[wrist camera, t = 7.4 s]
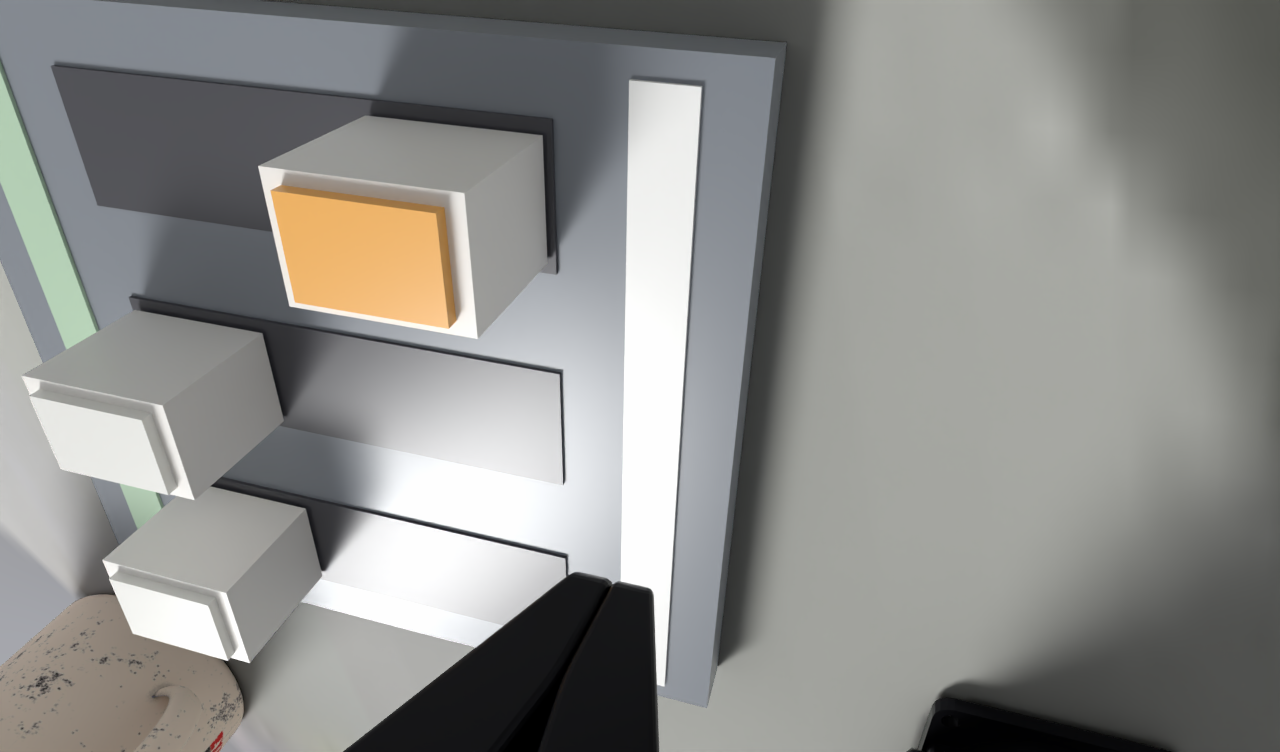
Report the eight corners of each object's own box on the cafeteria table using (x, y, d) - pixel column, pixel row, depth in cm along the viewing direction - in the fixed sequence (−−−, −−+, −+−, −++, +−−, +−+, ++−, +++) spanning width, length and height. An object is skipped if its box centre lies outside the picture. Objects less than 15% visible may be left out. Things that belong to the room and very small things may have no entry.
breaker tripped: (542, 135, 17) (456, 198, 14) (547, 263, 18) (470, 346, 15) (365, 115, 18) (246, 171, 15) (384, 239, 19) (279, 312, 16)
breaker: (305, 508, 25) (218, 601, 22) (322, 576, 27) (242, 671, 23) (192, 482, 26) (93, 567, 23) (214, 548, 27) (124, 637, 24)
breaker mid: (262, 333, 22) (152, 412, 19) (283, 421, 23) (185, 507, 20) (135, 309, 23) (10, 381, 20) (163, 396, 24) (52, 475, 21)
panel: (787, 42, 16) (774, 59, 15) (717, 668, 26) (706, 711, 25) (-55, -26, 21) (-121, -18, 20) (155, 527, 31) (120, 557, 30)
